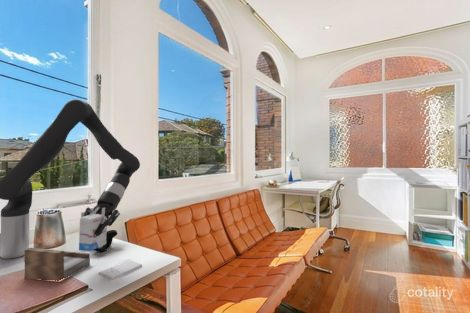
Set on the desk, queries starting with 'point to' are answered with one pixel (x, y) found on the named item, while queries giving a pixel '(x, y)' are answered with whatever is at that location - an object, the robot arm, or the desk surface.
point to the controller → (107, 240)
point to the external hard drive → (120, 269)
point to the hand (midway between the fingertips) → (89, 234)
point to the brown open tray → (53, 263)
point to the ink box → (91, 232)
